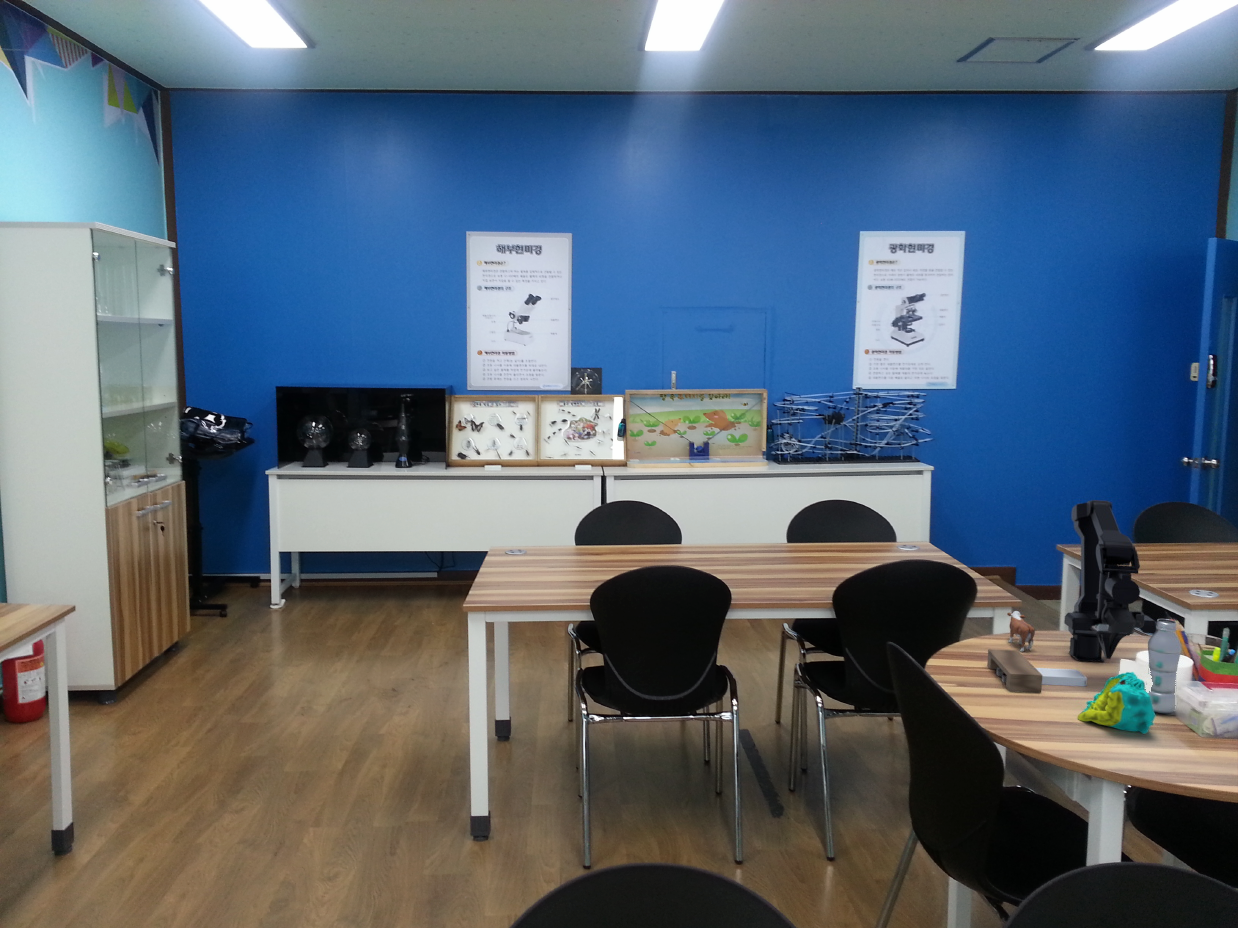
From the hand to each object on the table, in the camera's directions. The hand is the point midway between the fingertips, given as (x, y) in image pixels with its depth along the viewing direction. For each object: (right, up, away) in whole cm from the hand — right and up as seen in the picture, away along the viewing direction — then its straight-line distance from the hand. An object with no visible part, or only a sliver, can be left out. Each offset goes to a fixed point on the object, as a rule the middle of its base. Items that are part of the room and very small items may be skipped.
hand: (1107, 658), depth 222 cm
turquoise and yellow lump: (-10, -9, -24) cm, 28 cm away
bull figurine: (-9, -3, +28) cm, 30 cm away
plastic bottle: (+3, -8, -17) cm, 19 cm away
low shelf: (-21, -5, +3) cm, 22 cm away
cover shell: (-11, -6, +2) cm, 12 cm away
